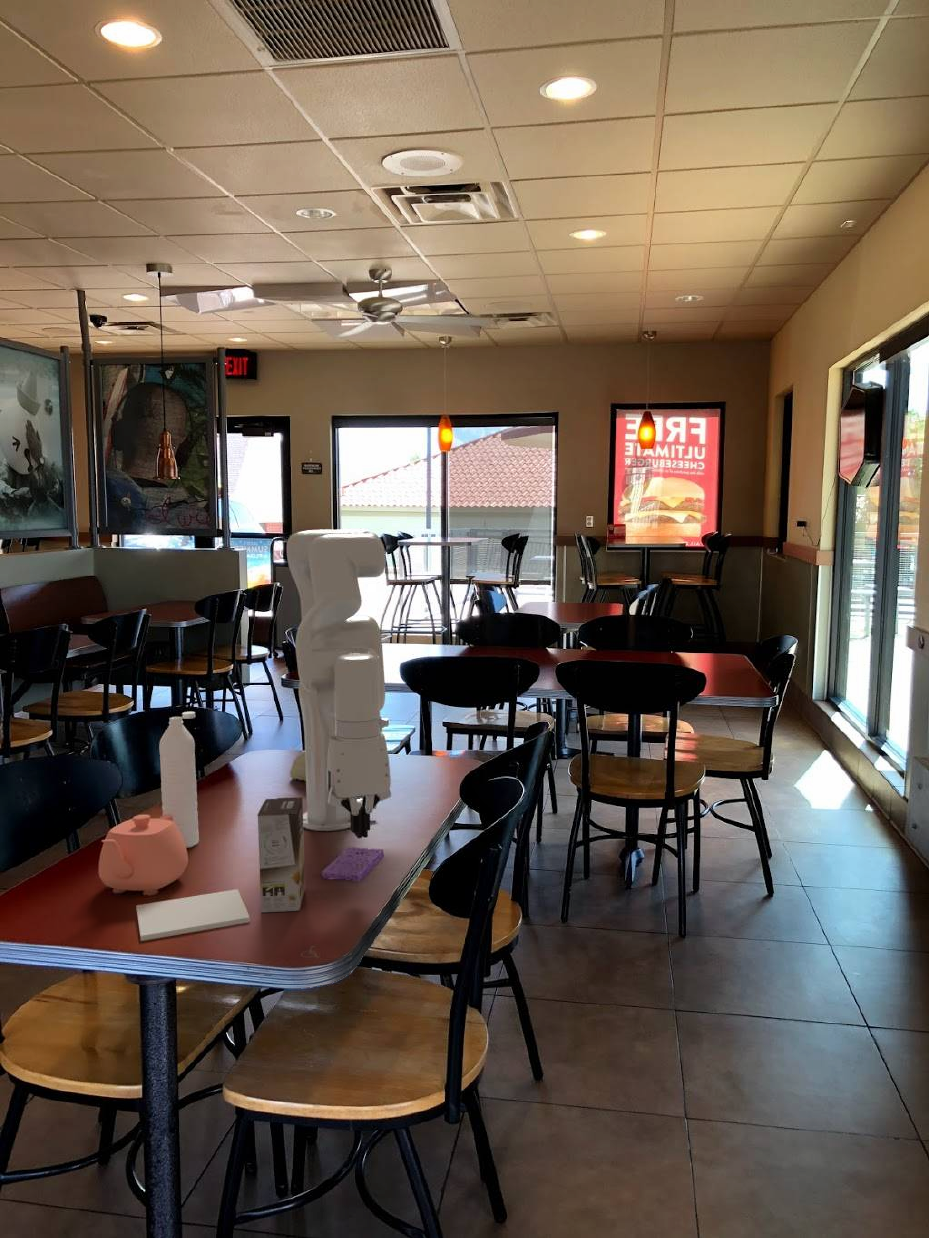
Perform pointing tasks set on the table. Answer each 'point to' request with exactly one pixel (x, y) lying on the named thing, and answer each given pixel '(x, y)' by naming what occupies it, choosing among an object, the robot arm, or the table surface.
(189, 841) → the water bottle
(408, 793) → the table surface
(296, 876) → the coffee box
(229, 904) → the mat
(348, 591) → the robot arm
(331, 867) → the sponges
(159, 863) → the teapot
